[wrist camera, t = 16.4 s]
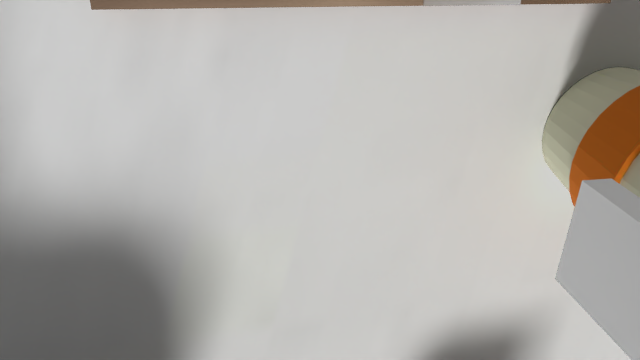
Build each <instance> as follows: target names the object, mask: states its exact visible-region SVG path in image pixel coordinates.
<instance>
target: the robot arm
mask: <svg viewBox="0 0 640 360" xmlns="http://www.w3.org/2000/svg"><path fill="white" fill-rule="evenodd" d="M555 279H556V280H557V281H558V282H559V283H560V285H561V286H562V287H563V288H564V289H565V290H566V291H567V292H568V293H569V294H570V295H571V296H572V297H573V298H574V299H575V300H576V301H577V302H578V304H579V305H580V306H581V307H582V308H583V309H584V310H585V311H586V312H587V313H588V314H589V315H590V316H591V317H592V318H593V319H594V320H595V322H596V323H597V324H598V325H599V326H600V327H601V328H602V329H603V330H604V331H605V332H606V333H607V334H608V335H609V336H610V337H611V338H612V340H613V341H614V342H615V343H616V344H617V345H618V346H619V347H620V348H621V349H622V350H623V351H624V352H625V353H626V354H627V355H628V356H629V358H630V359H631V360H640V198H639V197H638V196H637V195H635V194H634V193H632V192H631V191H629V190H628V189H626V188H625V187H623V186H622V185H620V184H619V183H617V182H616V181H614V180H613V179H612V178H611V179H597V180H582V183H581V186H580V190H579V194H578V197H577V201H576V204H575V208H574V212H573V215H572V219H571V223H570V226H569V230H568V233H567V237H566V241H565V244H564V248H563V252H562V255H561V259H560V262H559V266H558V270H557V273H556V277H555Z"/></svg>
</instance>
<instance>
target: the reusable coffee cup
mask: <svg viewBox="0 0 640 360" xmlns="http://www.w3.org/2000/svg"><path fill="white" fill-rule="evenodd" d="M542 149H543V154H544V158H545V161H546V163H547V164H548V166H549V168H550V169H551V170H552V172H553V173H554V174H555V175H556V176H557V178H558V179H559V180H560V181H561V183H562V184H563V185H564V186H565V187H566V189H567V190H568V191H569V192H570V195H571V199H572V203H573V205H574V206H575V204H576V201H577V197H578V194H579V190H580V186H581V183H582V180H597V179H611V178H612V179H613V180H614V181H616V182H617V183H619V184H620V185H622V186H623V187H625V188H626V189H628V190H629V191H631V192H632V193H634V194H635V195H637V196H638V197H639V198H640V71H639V70H635V69H631V68H624V67H614V68H606V69H603V70H600V71H597V72H594V73H592V74H590V75H588V76H586V77H584V78H583V79H581V80H580V81H578V82H577V83H576V84H574V85H573V86H572V87H571V88H570V89H569V90H568V91H567V92H566V93H565V94H564V95H563V96H562V97H561V98H560V99H559V101H558V102H557V103H556V105H555V106H554V108H553V109H552V111H551V113H550V115H549V117H548V119H547V122H546V125H545V128H544V132H543V138H542Z"/></svg>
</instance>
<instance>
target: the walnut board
mask: <svg viewBox="0 0 640 360" xmlns="http://www.w3.org/2000/svg"><path fill="white" fill-rule="evenodd" d="M610 2H611V0H90V3H91V9H92V10H94V9H176V8H257V7H339V6H421V5H423V6H450V5H520V4H584V3H610Z"/></svg>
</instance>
